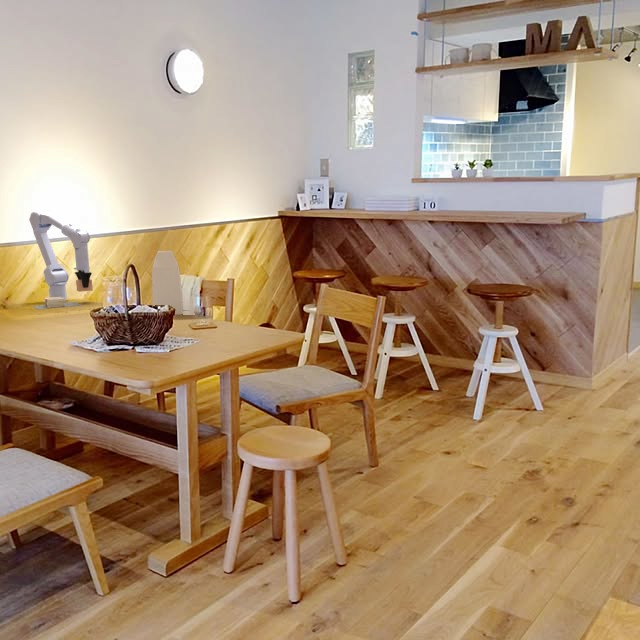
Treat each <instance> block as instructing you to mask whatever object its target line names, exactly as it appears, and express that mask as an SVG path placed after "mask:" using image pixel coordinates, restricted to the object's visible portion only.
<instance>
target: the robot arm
mask: <svg viewBox="0 0 640 640" xmlns="http://www.w3.org/2000/svg"><path fill="white" fill-rule="evenodd" d="M28 219H29V222H30V226H31V228H32V232H33V235H34V238H35V240H36V243H37V246H38V248H39V250H40V251H39V252H40V253H41V256H42V258H43V260H44V264H45V266H46V267H45V269H44V270H43V274H44V281H45V283H46V285H47V286H49V287H48V296H49V297H48V298H53V297H62V298H64V302H65V301H68V300H67V288H66V287H67V286H66V285H68V284H67V282H69V278H70V277H69V273H68V271H67V270H66V269H65V267H64V266H63V265H62V264H60V263H59V261H58V259H57V256H56V253H55V252H54V249H53V246H52V244H51V241H50V239H49V236H48V234H47V232H48V230H50V229H51V228H52V227H51V226H53V227H56V228H57V229H59V230H61V233H62V235H64V236H66V237H67V238H69V239H70V241H71V243H72V247H73V248H74V255H75V257H74V258H75V267H73V270H75V272H74V274H75V276H76V278H77V280H82V285H83V288H88V286H89V280H90V279H91V276H92V272H90V269H91V268H90V262H89V260H90V259H89V249H88V248H89V247H88V246H89V245H88V243H89V242H90V239H91V236H90V234H89V233H88V232H87V231H86V230H81V229H80V228H78V227H76V226H75V225H74V224H73V223H72V222H71V223H65V222H64V221H63V220H62V219H60V218H59V217H58V216H57V215H56V213H55V212H52V211H51V210H47V211H36V210H35V211H32V212H31V213H30V216H29V218H28Z"/></svg>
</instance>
